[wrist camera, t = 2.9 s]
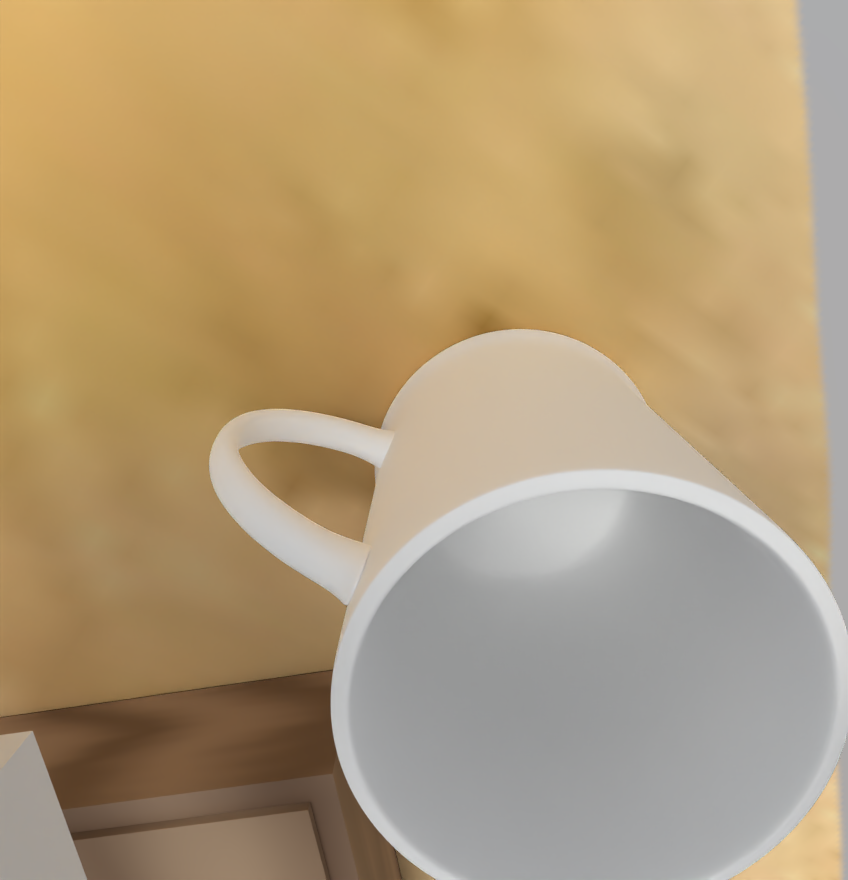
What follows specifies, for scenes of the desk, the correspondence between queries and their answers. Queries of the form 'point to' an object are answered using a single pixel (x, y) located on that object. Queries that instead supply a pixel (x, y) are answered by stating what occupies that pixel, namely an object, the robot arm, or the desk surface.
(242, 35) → the desk surface
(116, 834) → the tray
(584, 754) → the mug
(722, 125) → the desk surface
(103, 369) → the desk surface
